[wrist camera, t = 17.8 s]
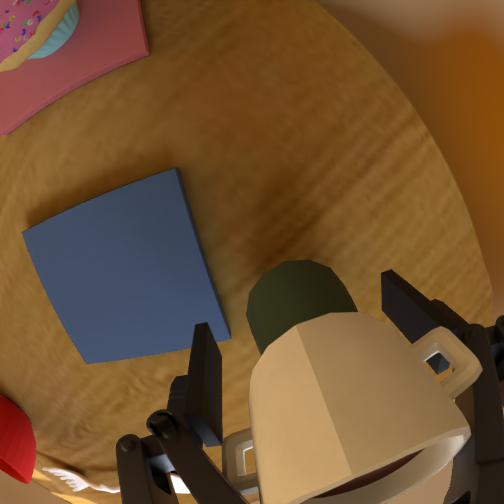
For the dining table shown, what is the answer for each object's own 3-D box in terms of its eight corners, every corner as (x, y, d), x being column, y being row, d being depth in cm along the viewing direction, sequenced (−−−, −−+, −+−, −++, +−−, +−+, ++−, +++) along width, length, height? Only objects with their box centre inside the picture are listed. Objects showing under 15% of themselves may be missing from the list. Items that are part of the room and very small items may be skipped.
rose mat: (133, -46, 9) (130, -52, 8) (150, 55, 13) (146, 49, 12) (7, 28, 9) (1, 25, 8) (7, 135, 13) (-1, 135, 12)
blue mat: (178, 167, 16) (175, 167, 15) (230, 331, 20) (231, 339, 19) (28, 229, 16) (21, 232, 15) (90, 357, 20) (86, 364, 19)
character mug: (249, 370, 19) (272, 539, 7) (191, 300, 17) (157, 514, 4) (381, 298, 18) (495, 431, 6) (347, 211, 16) (537, 332, 3)
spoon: (44, 457, 27) (39, 470, 24) (178, 458, 26) (176, 480, 22) (77, 480, 30) (73, 493, 27) (212, 481, 29) (213, 500, 25)
